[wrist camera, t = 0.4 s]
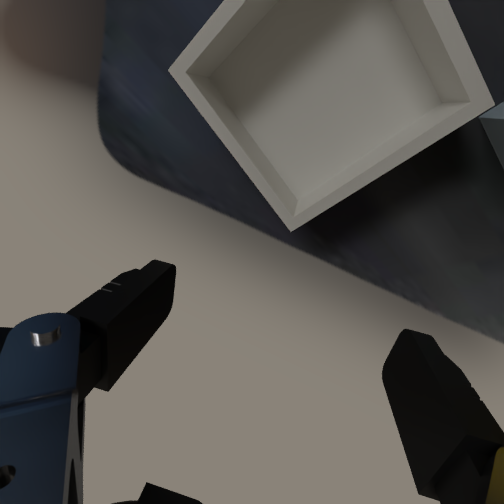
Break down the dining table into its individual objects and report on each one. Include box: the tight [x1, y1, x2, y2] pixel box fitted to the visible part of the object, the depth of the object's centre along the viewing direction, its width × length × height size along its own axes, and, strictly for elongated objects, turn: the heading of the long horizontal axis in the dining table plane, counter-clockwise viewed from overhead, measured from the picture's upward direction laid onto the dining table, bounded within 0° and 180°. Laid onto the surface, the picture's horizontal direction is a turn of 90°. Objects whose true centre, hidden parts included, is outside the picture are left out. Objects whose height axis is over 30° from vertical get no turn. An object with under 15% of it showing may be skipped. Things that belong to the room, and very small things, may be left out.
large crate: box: [168, 0, 495, 232], centre depth 22 cm, size 16×16×6 cm
